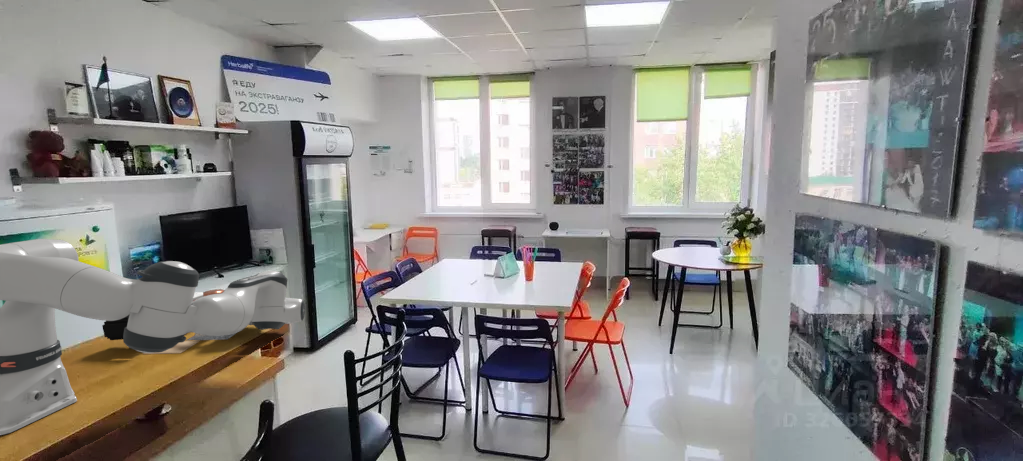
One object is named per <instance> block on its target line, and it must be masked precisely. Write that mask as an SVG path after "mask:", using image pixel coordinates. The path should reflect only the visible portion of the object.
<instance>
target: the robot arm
mask: <svg viewBox="0 0 1023 461" xmlns="http://www.w3.org/2000/svg"><path fill="white" fill-rule="evenodd" d="M79 260H80V259H79V254H78V252H77V250H76V248H75V247H74V246H73V245H72V244H71V243H70V242H68V241H66V240H64V239H54V238H37V239H29V240H23V241H15V242H9V243H2V244H0V301H4V303H3V305H1V306H0V436H2V435H3V436H4V435H8V434H10V433H12V432H15V431H17V430H19V429H21V428H23V427H25V426H28V425H29V424H32V423H34V422H36V421H38V420H40V419H43V418H45V417H46V416H49V415H51V414H53V413H55V412H57V411H59V410H61V409H64V408H65V407H68V406H70V405H72V404H74V403H76V402H78V399H77V396H76V395H75V391H74V390H73V388H72V386H71V384H70V379H69V377H68V373H67V370H66V368H65V366H64V364H63V362H62V359H61V358H62V357H61V356H62V355H63V353H62V345H61V341H60V340H59V339H58V336H57V327H56V318H55V316H56V315H55V311H56V310H59V311H62V312H65V313H68V314H71V315H74V316H78V317H82V318H86V319H91V320H96V321H97V320H99V321H104V322H105V321H115V320H120V319H122V318H124V317H126V316H128V315H129V314H130V316H129V319H128V324H127V327H125V329H124V335H123V339H122V340H123V344H124V345H126V347H128V348H129V349H131V350H135V352H140V353H142V354H143V353H157V352H163V351H166V350H168V349H170V348H172V347H174V346H175V345H177V344H178V343H179V342H184V341H187V337H186V334H188V333H193V334H195V333H198V334H202V335H208V336H223V335H229V334H234V333H236V334H238V333H239V332H241V331H243V330H244V329H246V328H247V327H248V326H254V327H255V328H256V329H257V330H259V331H263V330H268V329H269V330H270V329H271V330H280V329H281V328H282V327H283V326H285V325H287V324H289V325H290V324H295V323H301V322H302V321H303V320H304V319H305V315H306V303H305V301H304V300H303V299H302V298H296V297H295V298H294V297H287V289H288V288H287V287H288V278H287V277H286V275H285V274H284V273H282V272H280V271H278V270H265V271H261V272H258V273H256V274H254V275H250V276H247V277H242V278H240V279H237V280H234V281H232V282H230V283H229V284H228V285H227V288H226V289H224V292H223V293H222V294H212V295H208V296H204V297H201V298H199V299H197V300H195V301H193V297H194V293H195V292H196V288H197V287H198V286H199V279H200V274H199V272H198V270H196V269H195V268H193V267H192V266H190V265H188V264H187V263H185V262H181V261H176V260H175V261H173V260H166V261H158V262H156V263H155V262H154V263H153V264H150V265H149V266H147V267H146V268H144V270H143V269H140V270H138V271H136V274H137V275H139V276H141V277H140V278H138V279H136V278H135V279H134V278H133V279H132V278H126V277H124V276H121V275H119V274H116V273H114V272H112V271H109V270H107V269H104V268H101V267H98V266H94V265H91V264H89V263H86V262H82V261H79ZM192 301H193V302H192ZM237 332H238V333H237Z"/></svg>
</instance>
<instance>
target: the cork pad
mask: <svg viewBox="0 0 1023 461" xmlns="http://www.w3.org/2000/svg"><path fill="white" fill-rule="evenodd" d="M199 342H201V340H185V341H184V342H179V343H178V344H177V345H175V346H174V347H172V348H170V349H168V350H166V351H163V352H157V353H143V352H142V355H164V354H165V355H166V354H167V355H169V354H182V353H183V352H185V351H187V350H188V349H190V348H192V347H194V346H195V345H196V344H198V343H199Z"/></svg>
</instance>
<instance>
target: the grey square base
mask: <svg viewBox="0 0 1023 461" xmlns="http://www.w3.org/2000/svg"><path fill="white" fill-rule="evenodd" d="M238 333H239V332H237V333H234V334H229V335H223V336H208V335H202V334H198V333H194V335H192V336H191V337H189V338H186V341H213V340H215V341H217V340H220V341H221V340H222V341H223V340H229V339H230V338H232V337H234V336H235V335H236V334H238Z"/></svg>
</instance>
